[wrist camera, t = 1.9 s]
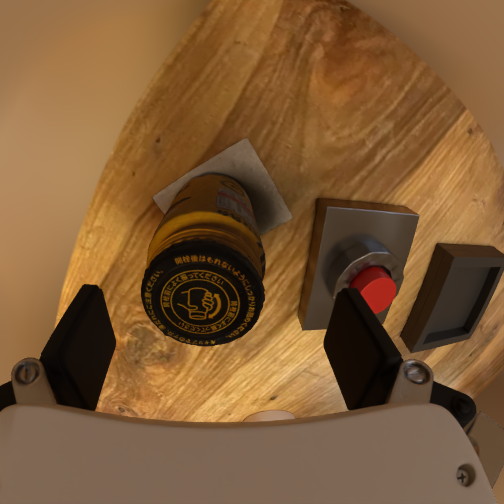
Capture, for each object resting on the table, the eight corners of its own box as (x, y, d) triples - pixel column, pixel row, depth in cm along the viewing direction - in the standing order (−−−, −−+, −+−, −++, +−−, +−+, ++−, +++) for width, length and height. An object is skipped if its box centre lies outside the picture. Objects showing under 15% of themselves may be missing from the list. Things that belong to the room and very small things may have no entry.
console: (318, 197, 22) (335, 215, 19) (406, 206, 23) (431, 223, 20) (297, 316, 28) (306, 344, 24) (375, 311, 29) (390, 335, 25)
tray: (436, 242, 25) (454, 257, 23) (493, 246, 27) (508, 258, 24) (399, 336, 31) (410, 353, 28) (458, 325, 33) (469, 338, 30)
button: (355, 266, 21) (364, 278, 20) (392, 266, 22) (402, 277, 20) (344, 303, 23) (352, 316, 21) (380, 301, 23) (388, 313, 22)
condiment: (152, 196, 21) (89, 281, 10) (246, 137, 20) (272, 164, 9) (203, 266, 24) (193, 381, 14) (292, 216, 23) (347, 311, 12)
